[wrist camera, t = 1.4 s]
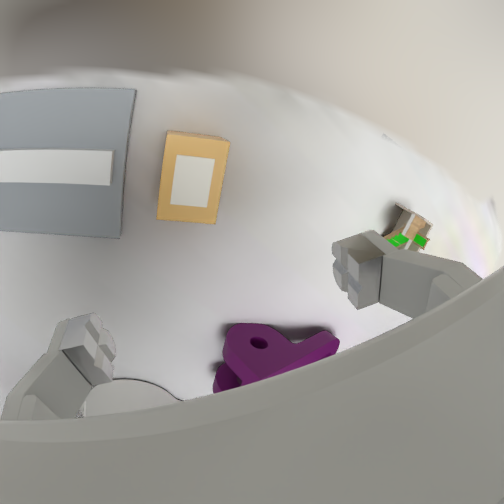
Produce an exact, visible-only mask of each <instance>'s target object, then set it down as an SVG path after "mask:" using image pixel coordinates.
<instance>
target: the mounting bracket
mask: <svg viewBox="0 0 504 504" xmlns="http://www.w3.org/2000/svg"><path fill="white" fill-rule="evenodd" d="M339 343H340V341H339V339H338V338H336V337H335V336H334V335H332V334H331V333H330V332H328V331H321V332H319V333H317V334H316V335H314V336H312V337H310V338H308V339H306V340H304V341H302V342H300V343H298V344H294V343H292V342H290V341H289V340H288V339H287V338H285V337H284V336H283V335H282V334H281V333H279V332H278V331H276V330H275V329H273V328H271V327H269V326H266V325H263V324H253V323H239V324H236V325H234V326H233V327H231V328H230V329H229V331H228V333H227V336H226V339H225V343H224V347H223V351H222V353H223V358H224V360H225V363H224V364H222V365H221V366H220V367H219V368H218V370H217V372H216V376H215V379H214V383H213V393H214V394H215V393H219V392H222V391H226V390H230V389H233V388H237V387H240V386H244V385H247V384H251V383H254V382H257V381H260V380H264V379H267V378H270V377H273V376H276V375H279V374H282V373H285V372H288V371H291V370H294V369H297V368H300V367H303V366H305V365H308V364H311V363H314V362H316V361H319V360H322V359H324V358H327V357H329V356H332V355H334V354H335V353H336V351H337V349H338V347H339Z"/></svg>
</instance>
